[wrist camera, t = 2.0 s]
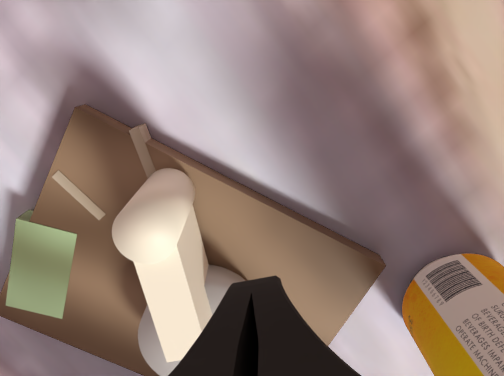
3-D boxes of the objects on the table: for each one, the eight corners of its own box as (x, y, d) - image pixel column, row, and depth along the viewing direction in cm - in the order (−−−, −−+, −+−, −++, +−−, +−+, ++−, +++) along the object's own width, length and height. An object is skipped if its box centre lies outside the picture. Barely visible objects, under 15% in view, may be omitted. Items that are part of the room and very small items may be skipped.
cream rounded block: (270, 350, 22) (276, 427, 18) (164, 369, 22) (143, 448, 18) (225, 156, 19) (217, 188, 14) (101, 180, 19) (54, 220, 14)
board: (268, 410, 25) (269, 428, 24) (-5, 295, 23) (-19, 308, 22) (384, 246, 22) (392, 257, 21) (77, 88, 19) (65, 90, 18)
